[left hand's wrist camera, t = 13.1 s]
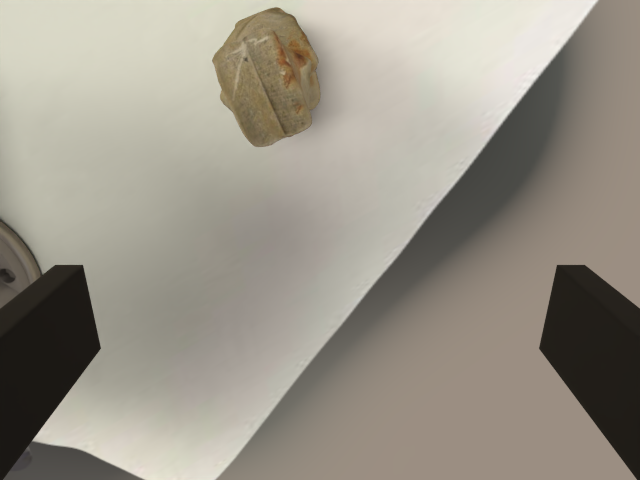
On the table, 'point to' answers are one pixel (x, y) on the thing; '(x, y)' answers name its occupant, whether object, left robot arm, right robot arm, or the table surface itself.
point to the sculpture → (268, 76)
